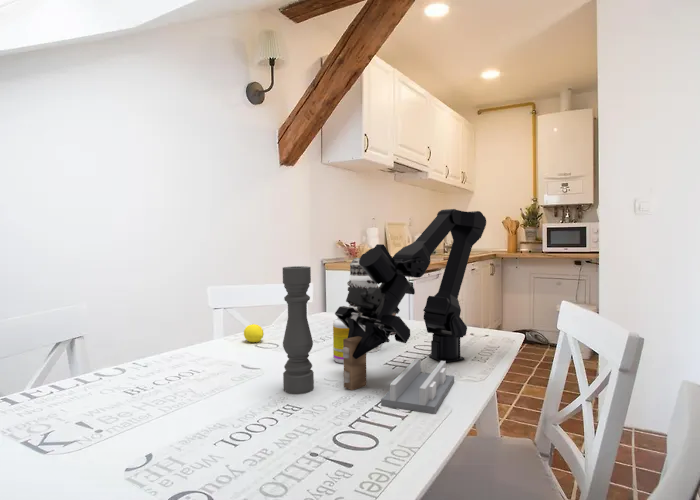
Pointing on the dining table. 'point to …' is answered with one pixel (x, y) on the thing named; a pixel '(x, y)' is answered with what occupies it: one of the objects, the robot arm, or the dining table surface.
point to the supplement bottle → (339, 339)
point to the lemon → (253, 333)
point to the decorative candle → (360, 284)
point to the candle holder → (297, 331)
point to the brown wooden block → (353, 365)
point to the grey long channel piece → (419, 388)
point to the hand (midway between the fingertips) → (349, 356)
